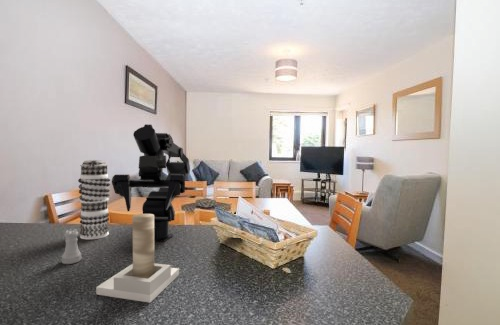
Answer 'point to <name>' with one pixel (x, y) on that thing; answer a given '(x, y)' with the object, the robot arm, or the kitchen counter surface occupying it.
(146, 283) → the socket base
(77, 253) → the rook chess piece
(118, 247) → the kitchen counter surface
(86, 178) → the decorative candle
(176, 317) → the kitchen counter surface
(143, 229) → the birch post
